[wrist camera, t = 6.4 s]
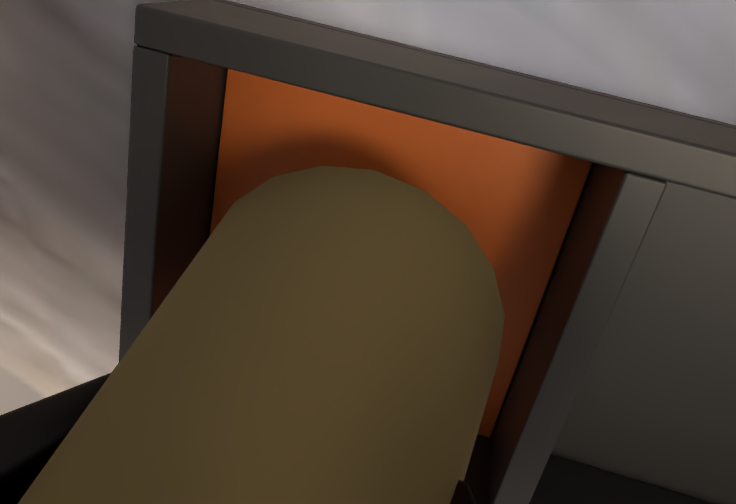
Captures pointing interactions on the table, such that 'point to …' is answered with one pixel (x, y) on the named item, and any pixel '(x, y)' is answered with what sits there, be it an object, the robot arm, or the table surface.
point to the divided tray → (476, 231)
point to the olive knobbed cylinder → (300, 359)
